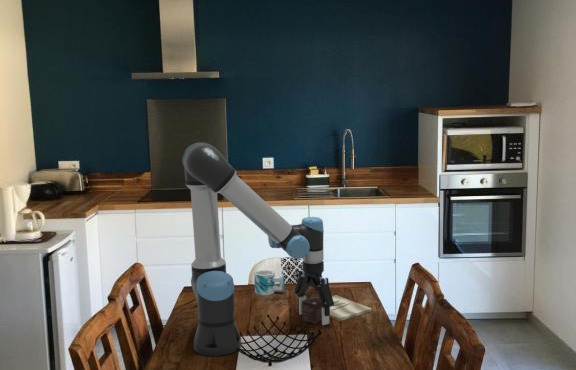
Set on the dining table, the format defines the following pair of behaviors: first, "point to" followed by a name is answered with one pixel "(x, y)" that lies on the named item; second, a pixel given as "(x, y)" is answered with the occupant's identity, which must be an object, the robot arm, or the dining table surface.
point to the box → (312, 310)
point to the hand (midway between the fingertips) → (313, 319)
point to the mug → (267, 282)
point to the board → (346, 308)
